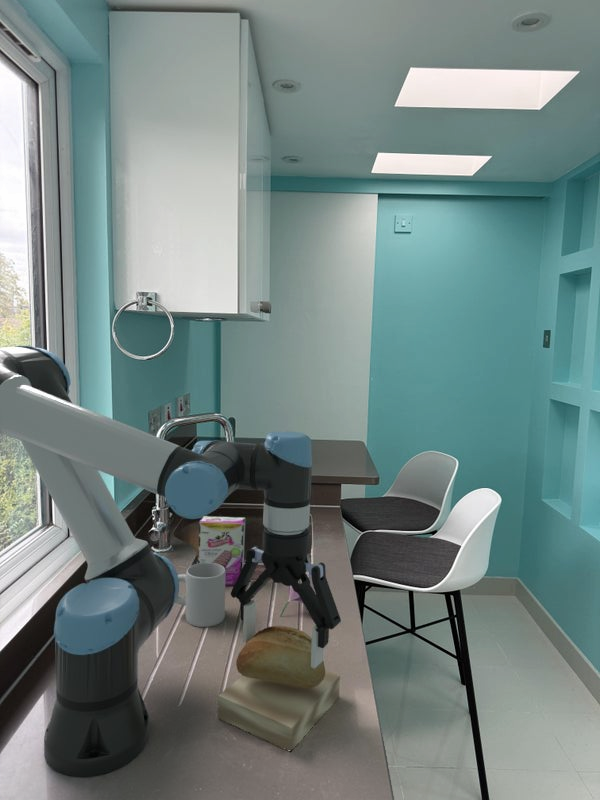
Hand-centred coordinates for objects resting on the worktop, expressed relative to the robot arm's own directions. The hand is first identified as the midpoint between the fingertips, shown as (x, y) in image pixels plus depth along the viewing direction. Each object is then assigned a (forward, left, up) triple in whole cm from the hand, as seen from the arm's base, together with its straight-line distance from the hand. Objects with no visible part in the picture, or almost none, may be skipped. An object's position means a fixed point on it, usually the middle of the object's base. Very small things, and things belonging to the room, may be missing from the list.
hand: (281, 651), depth 97 cm
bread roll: (0, 0, -5) cm, 5 cm away
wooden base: (0, 0, -10) cm, 10 cm away
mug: (+16, +32, -10) cm, 37 cm away
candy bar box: (+33, +39, -10) cm, 52 cm away
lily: (+30, +15, -10) cm, 35 cm away
